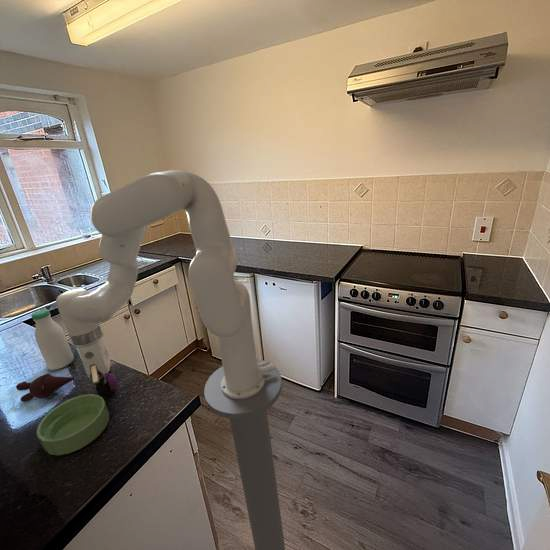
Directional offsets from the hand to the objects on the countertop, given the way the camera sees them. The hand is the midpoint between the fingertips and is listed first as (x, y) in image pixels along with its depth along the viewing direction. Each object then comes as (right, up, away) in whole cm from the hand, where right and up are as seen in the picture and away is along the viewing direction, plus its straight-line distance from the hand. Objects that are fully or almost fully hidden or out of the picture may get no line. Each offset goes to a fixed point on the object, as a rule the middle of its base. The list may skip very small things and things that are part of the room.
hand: (106, 386), depth 87 cm
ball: (0, +1, 0) cm, 1 cm away
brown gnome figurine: (-18, -3, +2) cm, 18 cm away
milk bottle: (-25, +2, +16) cm, 30 cm away
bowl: (0, -7, -12) cm, 14 cm away
